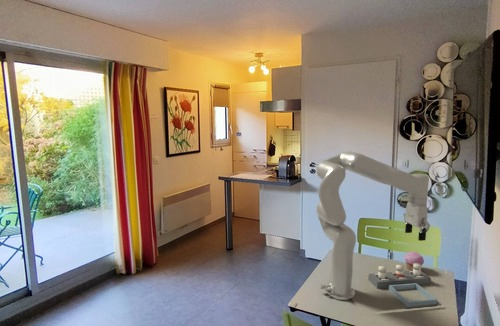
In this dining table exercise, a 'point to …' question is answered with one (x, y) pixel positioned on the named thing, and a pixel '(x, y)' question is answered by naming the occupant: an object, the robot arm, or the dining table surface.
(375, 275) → the fuse holder
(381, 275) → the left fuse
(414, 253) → the cupcake
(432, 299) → the tray
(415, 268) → the right fuse
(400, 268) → the cylinder
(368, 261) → the dining table surface
